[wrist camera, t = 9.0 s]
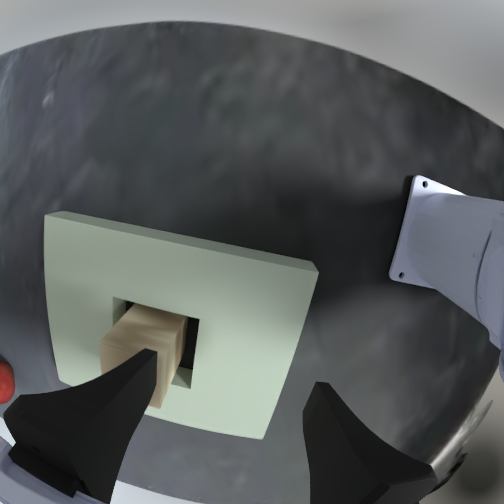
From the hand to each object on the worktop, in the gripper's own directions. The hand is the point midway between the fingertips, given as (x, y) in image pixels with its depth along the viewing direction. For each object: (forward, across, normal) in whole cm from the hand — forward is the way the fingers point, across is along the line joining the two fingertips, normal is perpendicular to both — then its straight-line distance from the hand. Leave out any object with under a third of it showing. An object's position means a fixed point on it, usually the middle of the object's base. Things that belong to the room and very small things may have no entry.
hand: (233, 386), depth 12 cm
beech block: (+10, +6, +4) cm, 12 cm away
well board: (+9, +6, +4) cm, 12 cm away
